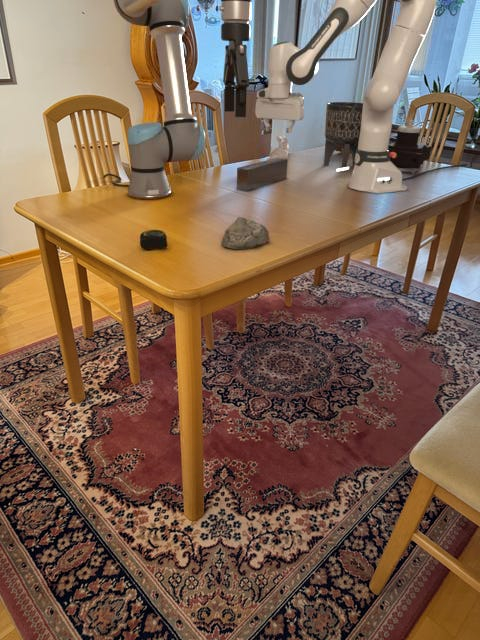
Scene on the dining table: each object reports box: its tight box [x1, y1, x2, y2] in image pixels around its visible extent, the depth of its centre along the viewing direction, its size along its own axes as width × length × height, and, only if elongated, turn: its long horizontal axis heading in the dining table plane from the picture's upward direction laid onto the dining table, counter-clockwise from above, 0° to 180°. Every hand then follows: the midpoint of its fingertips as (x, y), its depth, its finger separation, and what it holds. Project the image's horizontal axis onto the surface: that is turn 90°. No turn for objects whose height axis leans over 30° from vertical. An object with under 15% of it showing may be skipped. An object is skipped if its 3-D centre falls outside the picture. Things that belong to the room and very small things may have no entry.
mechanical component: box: [388, 119, 433, 174], centre depth 204 cm, size 22×21×30 cm
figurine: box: [266, 134, 290, 160], centre depth 208 cm, size 8×15×13 cm, turn 145°
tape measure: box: [139, 229, 168, 250], centre depth 117 cm, size 7×7×4 cm
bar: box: [236, 158, 289, 192], centre depth 178 cm, size 28×5×8 cm, turn 143°
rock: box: [221, 216, 270, 250], centre depth 119 cm, size 13×9×6 cm, turn 131°
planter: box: [323, 101, 363, 172], centre depth 204 cm, size 20×20×26 cm
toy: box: [335, 147, 352, 155], centre depth 240 cm, size 11×6×15 cm
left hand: (234, 114), depth 126 cm, fingers open, 13 cm apart
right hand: (278, 132), depth 177 cm, fingers open, 8 cm apart
